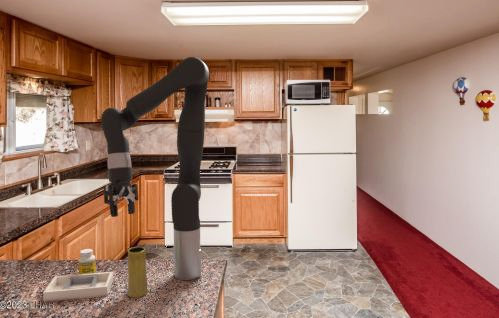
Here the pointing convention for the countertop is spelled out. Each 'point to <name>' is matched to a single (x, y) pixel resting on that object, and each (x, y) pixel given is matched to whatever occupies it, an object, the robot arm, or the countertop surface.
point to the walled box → (78, 286)
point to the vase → (137, 272)
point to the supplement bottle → (87, 262)
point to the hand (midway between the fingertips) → (123, 215)
